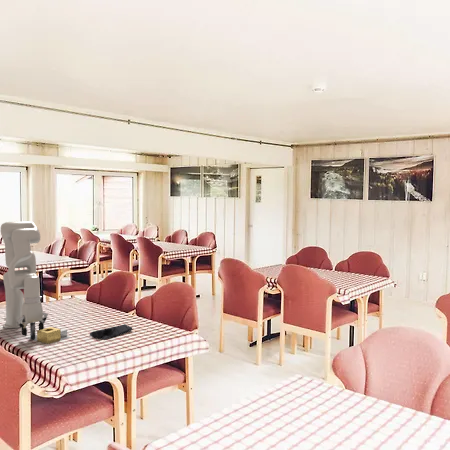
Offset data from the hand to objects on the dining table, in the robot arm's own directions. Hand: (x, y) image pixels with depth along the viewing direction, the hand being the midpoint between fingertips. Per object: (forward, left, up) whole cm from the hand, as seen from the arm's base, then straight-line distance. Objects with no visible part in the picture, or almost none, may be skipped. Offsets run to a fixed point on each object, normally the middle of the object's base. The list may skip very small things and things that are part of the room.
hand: (32, 333), depth 248 cm
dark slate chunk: (+23, +32, -5) cm, 40 cm away
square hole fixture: (+6, +5, -4) cm, 9 cm away
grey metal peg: (0, 0, -3) cm, 3 cm away
